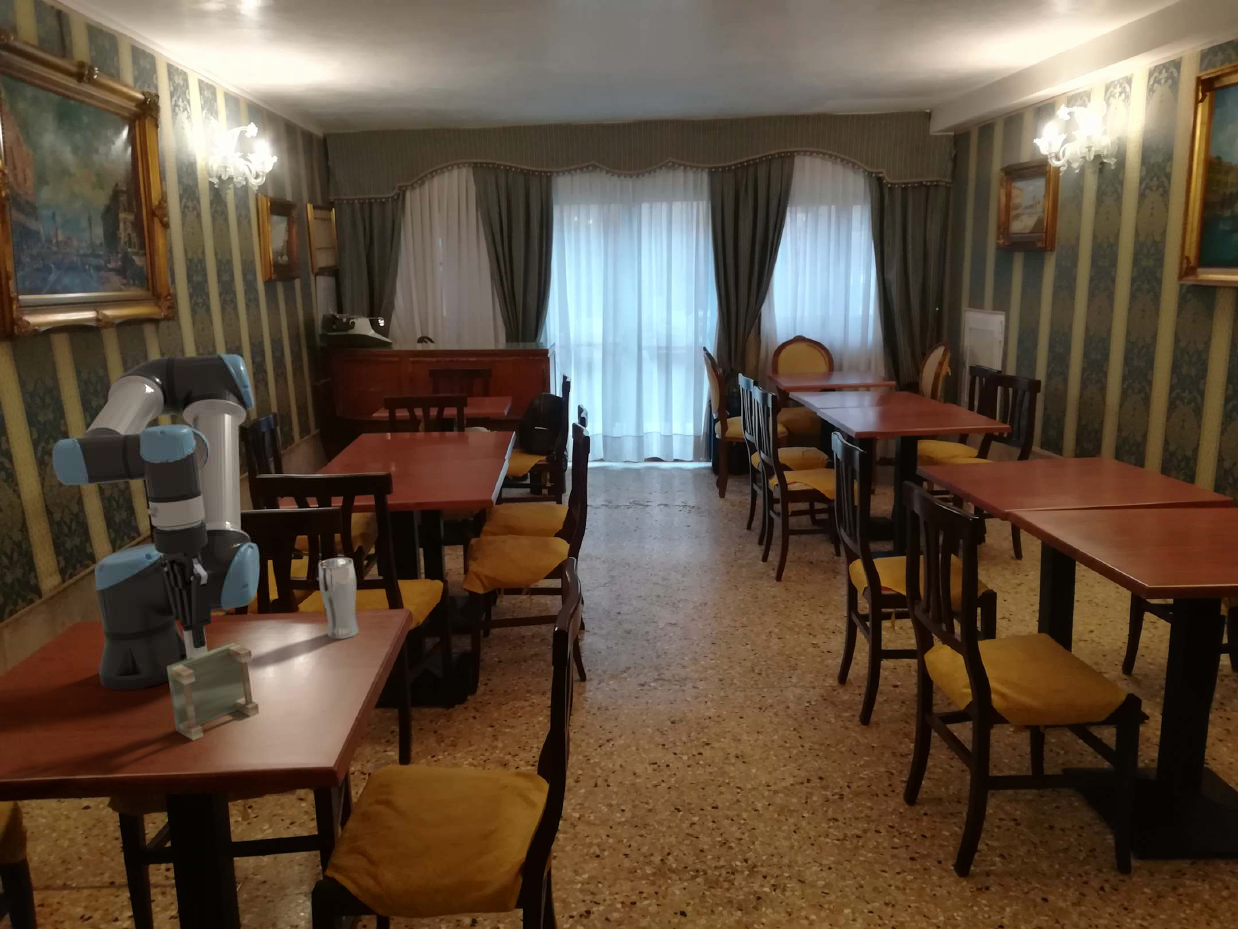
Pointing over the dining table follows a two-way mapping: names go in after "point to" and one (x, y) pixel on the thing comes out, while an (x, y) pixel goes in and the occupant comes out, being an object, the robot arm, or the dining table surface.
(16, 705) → the dining table surface
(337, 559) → the beer glass
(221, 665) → the footstool
